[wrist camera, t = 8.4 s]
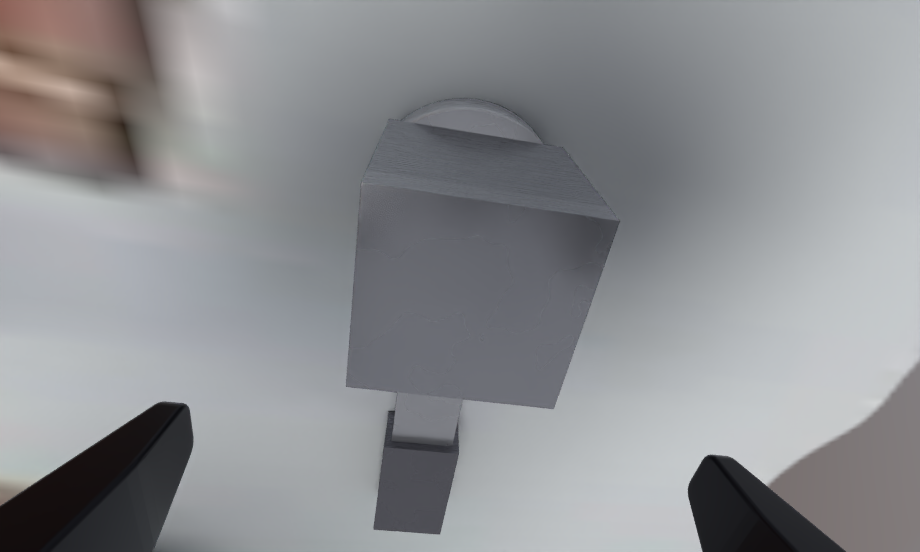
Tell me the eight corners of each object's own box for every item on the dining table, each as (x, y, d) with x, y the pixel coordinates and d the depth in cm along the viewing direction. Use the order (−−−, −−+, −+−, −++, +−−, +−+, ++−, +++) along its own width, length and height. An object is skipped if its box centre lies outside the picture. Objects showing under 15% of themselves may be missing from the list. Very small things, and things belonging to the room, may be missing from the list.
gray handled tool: (472, 499, 28) (478, 605, 23) (345, 488, 27) (323, 595, 22) (576, 116, 18) (625, 161, 13) (376, 82, 17) (349, 117, 12)
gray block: (523, 293, 19) (553, 408, 14) (374, 273, 18) (345, 386, 13) (562, 147, 16) (619, 220, 11) (388, 118, 15) (360, 182, 10)
